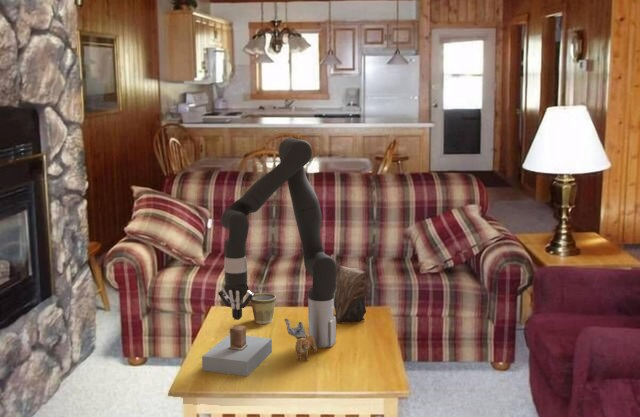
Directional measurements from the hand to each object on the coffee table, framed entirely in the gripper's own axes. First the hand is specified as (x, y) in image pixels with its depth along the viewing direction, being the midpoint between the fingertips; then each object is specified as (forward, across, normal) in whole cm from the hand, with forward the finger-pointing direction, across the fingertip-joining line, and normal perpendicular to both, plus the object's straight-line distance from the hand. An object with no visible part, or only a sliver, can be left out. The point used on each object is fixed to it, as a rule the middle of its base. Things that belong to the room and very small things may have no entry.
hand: (237, 319), depth 265 cm
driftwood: (+16, -8, -36) cm, 40 cm away
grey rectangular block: (+15, 0, 0) cm, 15 cm away
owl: (+15, -23, -53) cm, 60 cm away
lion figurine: (+15, -21, -10) cm, 28 cm away
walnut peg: (+15, 0, 0) cm, 15 cm away
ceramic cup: (+15, +7, -42) cm, 45 cm away
